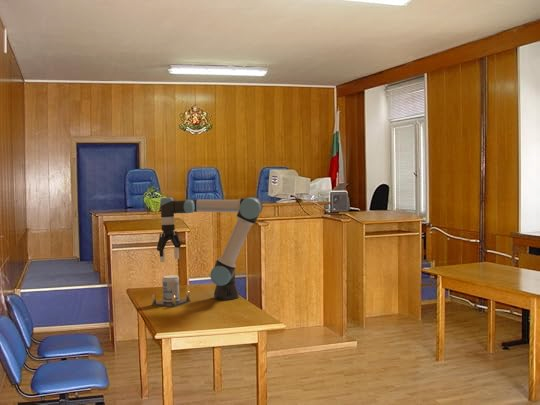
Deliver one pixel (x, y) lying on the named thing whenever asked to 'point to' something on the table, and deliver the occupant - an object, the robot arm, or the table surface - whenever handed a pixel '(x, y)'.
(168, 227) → the robot arm
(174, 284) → the supplement tub
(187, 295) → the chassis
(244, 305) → the table surface
